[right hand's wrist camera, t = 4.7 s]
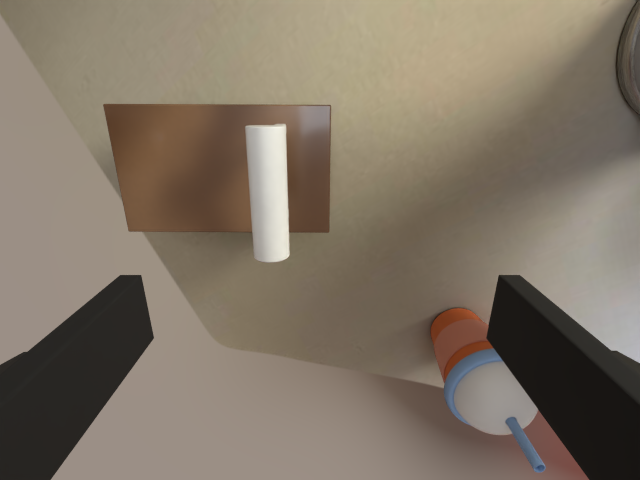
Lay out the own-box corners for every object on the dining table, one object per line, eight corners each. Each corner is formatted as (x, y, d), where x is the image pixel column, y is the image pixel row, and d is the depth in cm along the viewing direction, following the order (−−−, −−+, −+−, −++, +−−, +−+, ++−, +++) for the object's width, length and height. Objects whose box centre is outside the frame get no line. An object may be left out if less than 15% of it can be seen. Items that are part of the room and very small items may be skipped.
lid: (330, 105, 24) (335, 102, 16) (328, 229, 27) (332, 281, 19) (109, 104, 24) (-1, 101, 16) (134, 228, 27) (52, 279, 19)
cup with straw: (419, 361, 45) (477, 512, 28) (417, 301, 42) (481, 429, 25) (490, 354, 45) (592, 503, 28) (493, 292, 41) (611, 418, 25)
